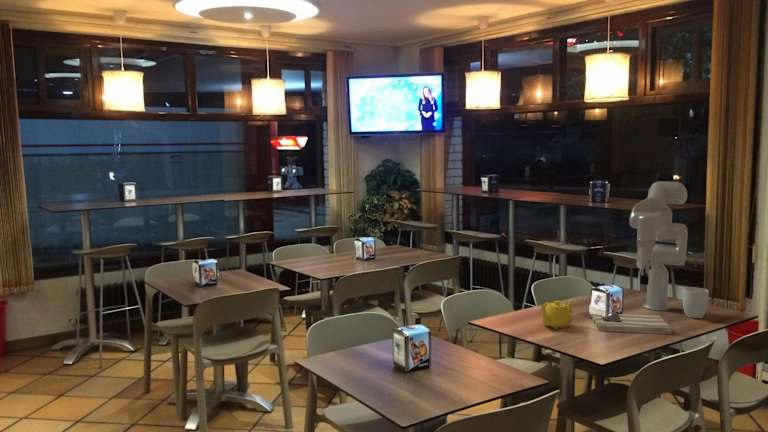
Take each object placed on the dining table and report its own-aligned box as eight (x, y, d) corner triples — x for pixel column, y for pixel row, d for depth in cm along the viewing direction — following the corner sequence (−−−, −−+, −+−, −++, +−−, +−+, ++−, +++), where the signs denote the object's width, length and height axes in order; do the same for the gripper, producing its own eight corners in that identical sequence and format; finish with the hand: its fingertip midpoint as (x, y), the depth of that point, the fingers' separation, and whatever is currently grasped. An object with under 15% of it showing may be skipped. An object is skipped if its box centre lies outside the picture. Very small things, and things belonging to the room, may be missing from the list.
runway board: (591, 318, 304) (591, 313, 304) (659, 321, 300) (659, 315, 299) (598, 330, 284) (598, 325, 284) (671, 333, 280) (671, 328, 280)
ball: (604, 311, 296) (617, 314, 296) (603, 325, 294) (616, 327, 294) (610, 310, 290) (623, 312, 290) (609, 323, 288) (622, 326, 289)
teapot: (559, 318, 303) (560, 294, 302) (583, 326, 291) (584, 301, 289) (526, 324, 293) (527, 299, 292) (550, 333, 281) (550, 307, 279)
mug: (692, 311, 317) (693, 284, 316) (715, 315, 309) (717, 288, 307) (677, 316, 308) (678, 289, 306) (700, 321, 299) (702, 293, 298)
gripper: (633, 240, 294) (631, 280, 297) (641, 246, 279) (639, 288, 282) (650, 240, 293) (648, 280, 295) (659, 246, 278) (657, 288, 281)
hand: (644, 284), depth 289 cm, fingers closed
